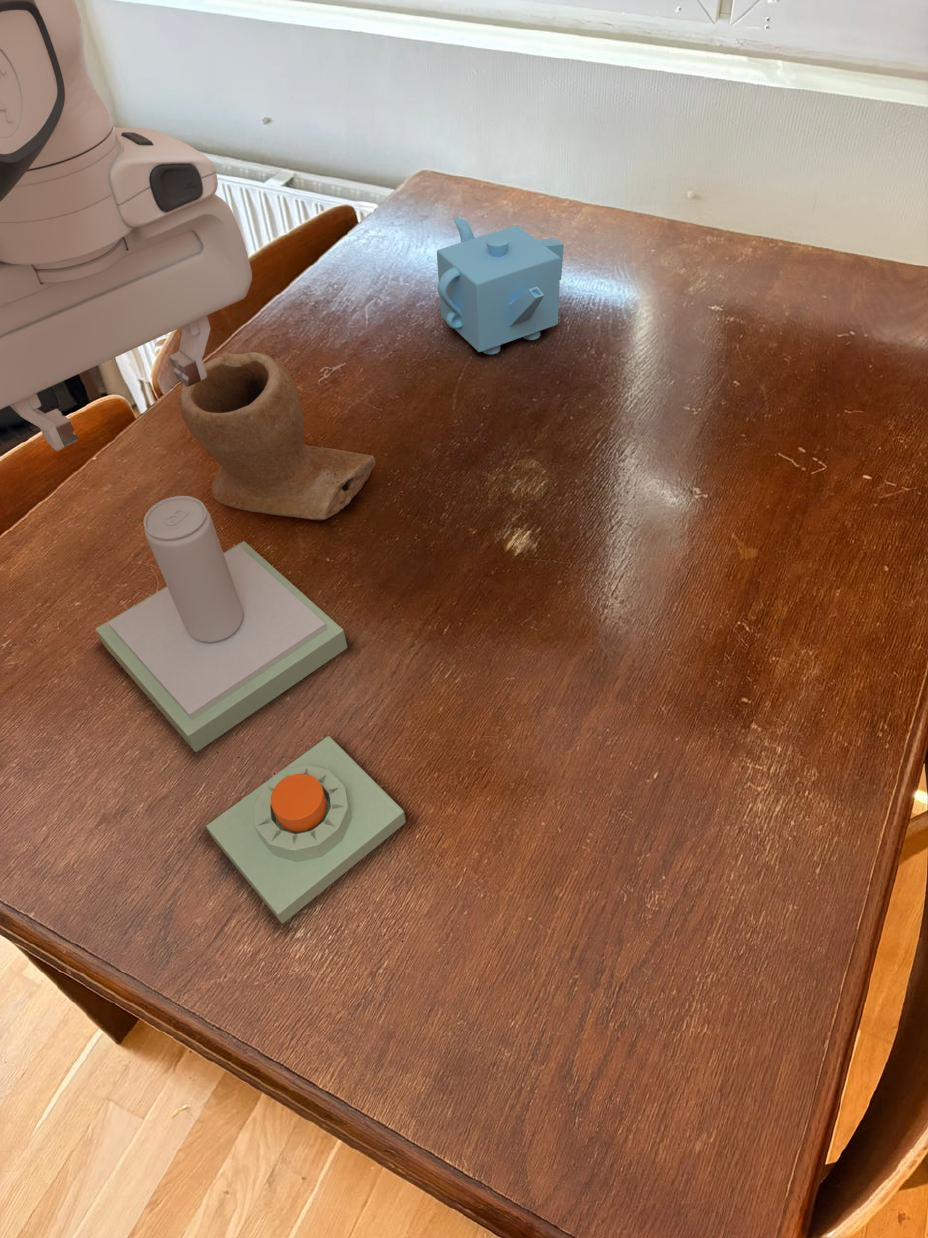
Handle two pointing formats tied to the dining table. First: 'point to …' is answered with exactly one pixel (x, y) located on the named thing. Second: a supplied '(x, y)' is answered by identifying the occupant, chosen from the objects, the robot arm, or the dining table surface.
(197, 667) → the scale
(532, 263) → the teapot
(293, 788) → the button
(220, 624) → the beverage can
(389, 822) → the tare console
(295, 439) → the tan stone pipe
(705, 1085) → the dining table surface
